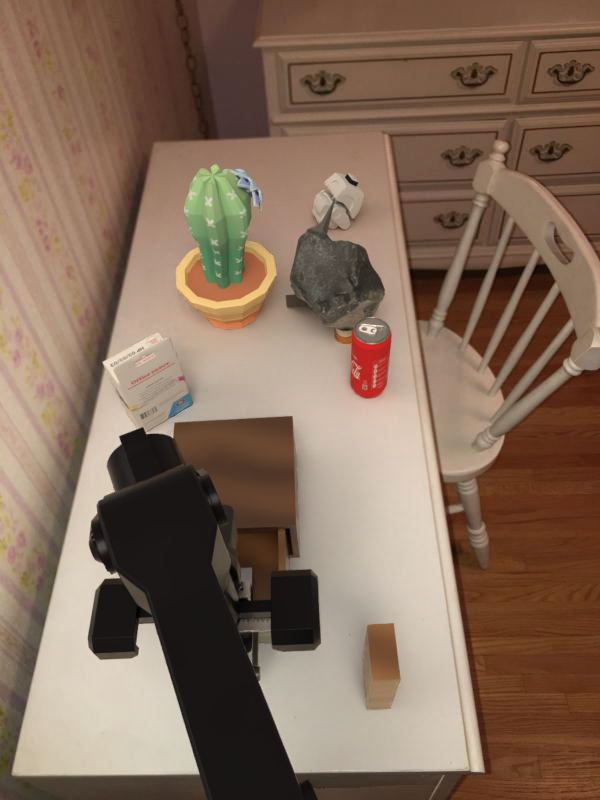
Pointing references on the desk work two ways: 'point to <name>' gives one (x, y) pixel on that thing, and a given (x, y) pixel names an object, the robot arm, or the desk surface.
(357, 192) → the white faceted figurine
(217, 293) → the potted cactus
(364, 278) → the narwhal figurine
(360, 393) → the beverage can
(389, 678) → the stand
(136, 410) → the ink box
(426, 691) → the desk surface
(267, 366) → the desk surface
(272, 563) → the drawer
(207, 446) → the cabinet
